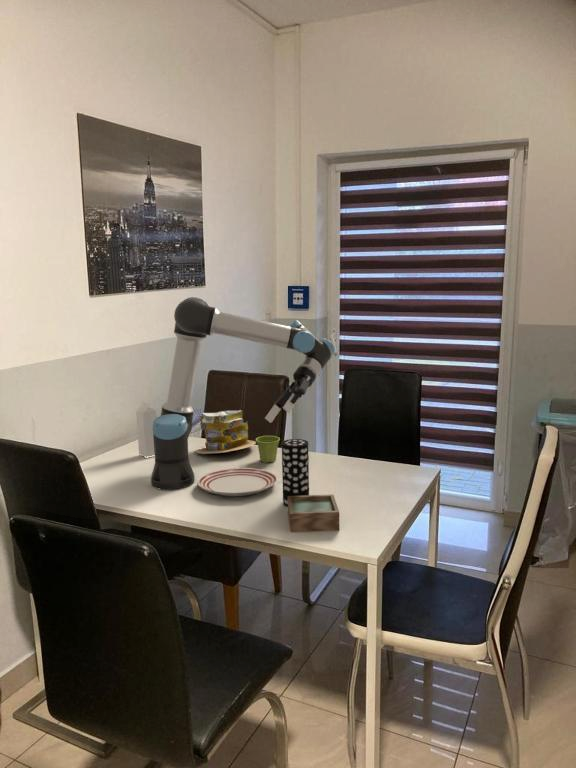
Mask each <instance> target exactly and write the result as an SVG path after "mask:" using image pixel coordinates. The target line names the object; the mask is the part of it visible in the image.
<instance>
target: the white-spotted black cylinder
mask: <svg viewBox="0 0 576 768" xmlns="http://www.w3.org/2000/svg"><path fill="white" fill-rule="evenodd" d="M309 462H310V461H309V441H308V440H306V439H302V438H291V439H285V440H283V441H281V465H282V467H281V469H282V471H281V473H282V477H281V478H282V503H283V504H282V505H283V506H284V507H287V508H288V496H305V495H310V477H309V476H310V474H309V473H310V468H309V467H310V465H309V464H310V463H309Z"/></svg>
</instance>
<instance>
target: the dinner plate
mask: <svg viewBox="0 0 576 768" xmlns="http://www.w3.org/2000/svg"><path fill="white" fill-rule="evenodd" d="M278 481H279V479H278V476H277V475H276V474H275V473H273V472H271V471H268V470H266V469H261V468H253V467H233V468H226V469H225V468H224V469H219V470H214V471H210V472H207V473H205V474H203V475H202V476H200V477H198V479H197V481H196V482H197V485H198V487H199V488H200V489H202V490H204V491H206V492H209V493H213V494H215V495H219V494H220V495H219V496H223V495H225V497H243V496H250V495H254V494H257V493H260V492H263V491H265V490H267V489H269V488H271V487H273V486H274V485H275V484H276V483H277V482H278Z"/></svg>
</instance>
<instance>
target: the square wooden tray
mask: <svg viewBox="0 0 576 768" xmlns="http://www.w3.org/2000/svg"><path fill="white" fill-rule="evenodd" d="M287 517H288V524H289V530H290V531H289V532H290V533H301V532H303V533H305V532H328V531H329V532H331V531H340V509H339V507H338V504H337V501H336V498H335V496H334V494H313V495H312V494H309V495H305V496H288V507H287Z"/></svg>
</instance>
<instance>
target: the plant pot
mask: <svg viewBox="0 0 576 768" xmlns="http://www.w3.org/2000/svg"><path fill="white" fill-rule="evenodd" d="M280 440H281V439H280V437H278V436H275V435H262V436H258V437H256V438H255V442H256V444H257V448H258V453H259V459H260V461H261V462H263V463H273V462H276V461H277V456H278V455H277V454H278V446H279V443H280Z"/></svg>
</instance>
